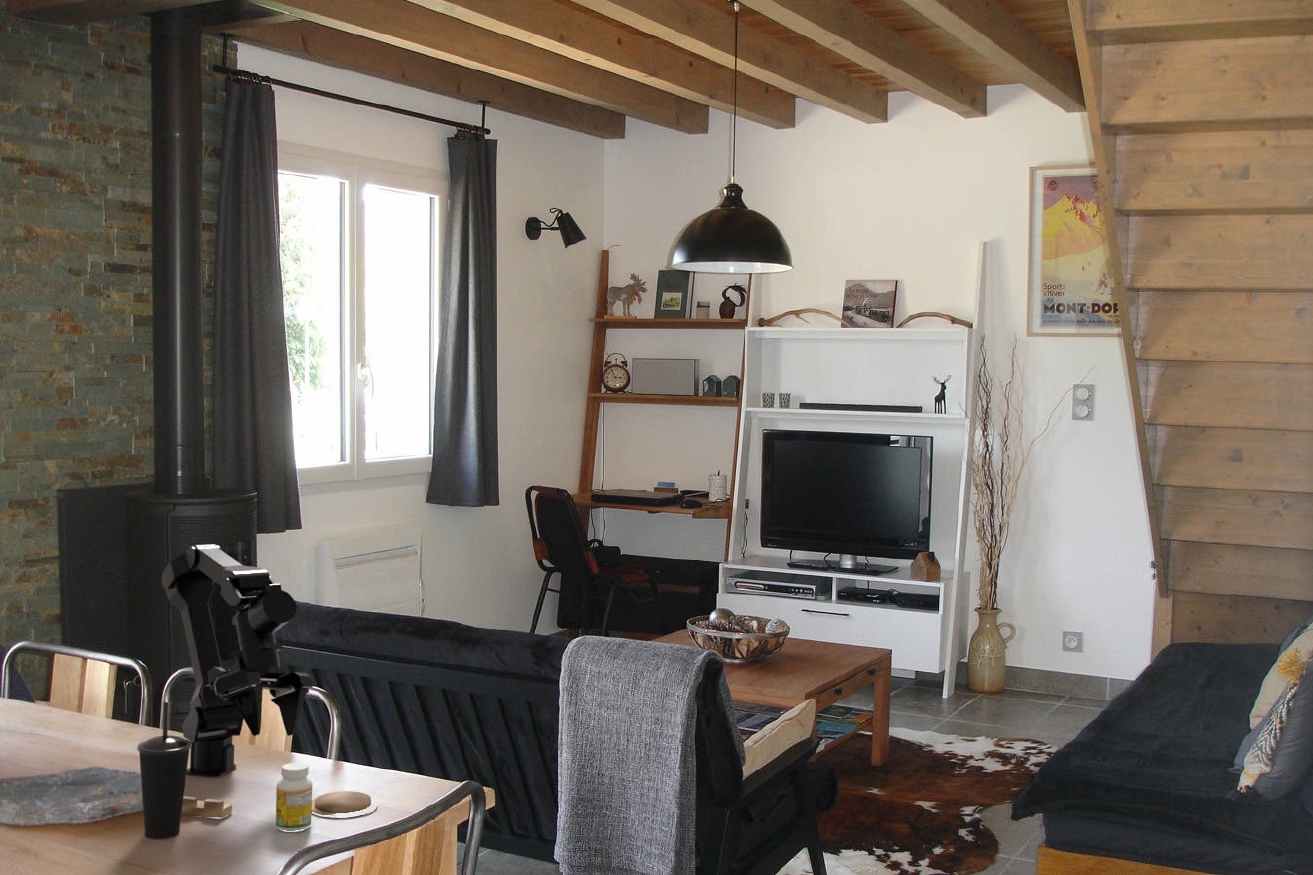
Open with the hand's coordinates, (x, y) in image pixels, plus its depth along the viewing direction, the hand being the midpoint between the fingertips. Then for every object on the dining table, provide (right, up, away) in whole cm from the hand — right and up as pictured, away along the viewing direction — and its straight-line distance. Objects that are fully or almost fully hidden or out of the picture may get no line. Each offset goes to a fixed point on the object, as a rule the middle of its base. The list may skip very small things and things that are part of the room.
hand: (274, 735), depth 201 cm
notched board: (-10, -12, -4) cm, 16 cm away
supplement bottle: (+5, -13, -8) cm, 16 cm away
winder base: (+11, -12, +2) cm, 16 cm away
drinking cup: (-13, -12, -13) cm, 22 cm away
